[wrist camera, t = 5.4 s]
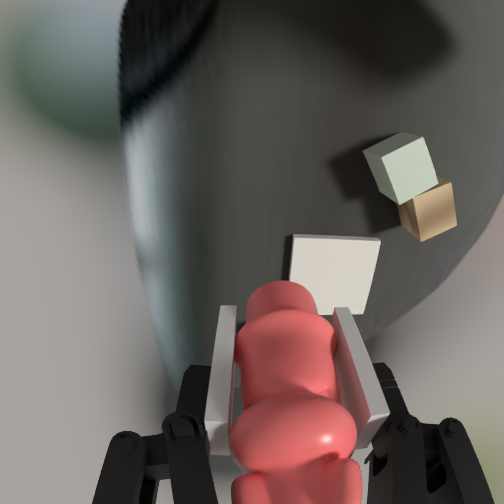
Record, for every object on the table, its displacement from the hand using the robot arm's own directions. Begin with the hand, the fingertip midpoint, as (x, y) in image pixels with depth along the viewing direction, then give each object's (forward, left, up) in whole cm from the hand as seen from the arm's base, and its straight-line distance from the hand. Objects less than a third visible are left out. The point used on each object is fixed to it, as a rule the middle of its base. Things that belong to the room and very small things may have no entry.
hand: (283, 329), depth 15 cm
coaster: (+7, +8, -18) cm, 21 cm away
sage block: (-7, +13, -18) cm, 24 cm away
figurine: (0, 0, -2) cm, 2 cm away
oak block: (-3, +17, -18) cm, 25 cm away
